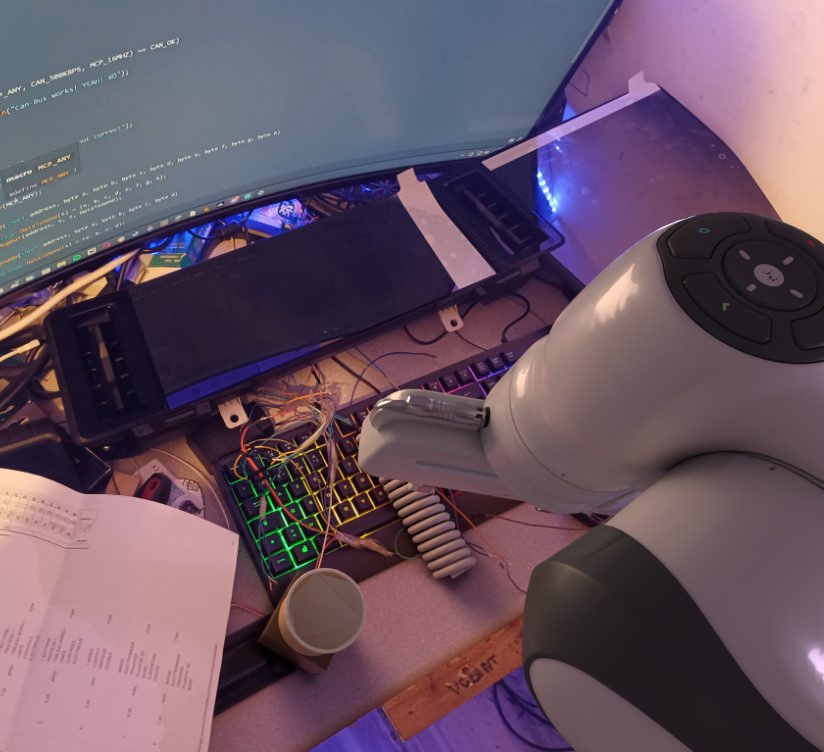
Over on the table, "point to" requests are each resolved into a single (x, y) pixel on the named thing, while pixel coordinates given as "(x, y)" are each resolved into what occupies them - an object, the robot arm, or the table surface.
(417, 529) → the coil
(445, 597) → the table surface
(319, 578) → the paper cup
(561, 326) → the robot arm
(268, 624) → the block
